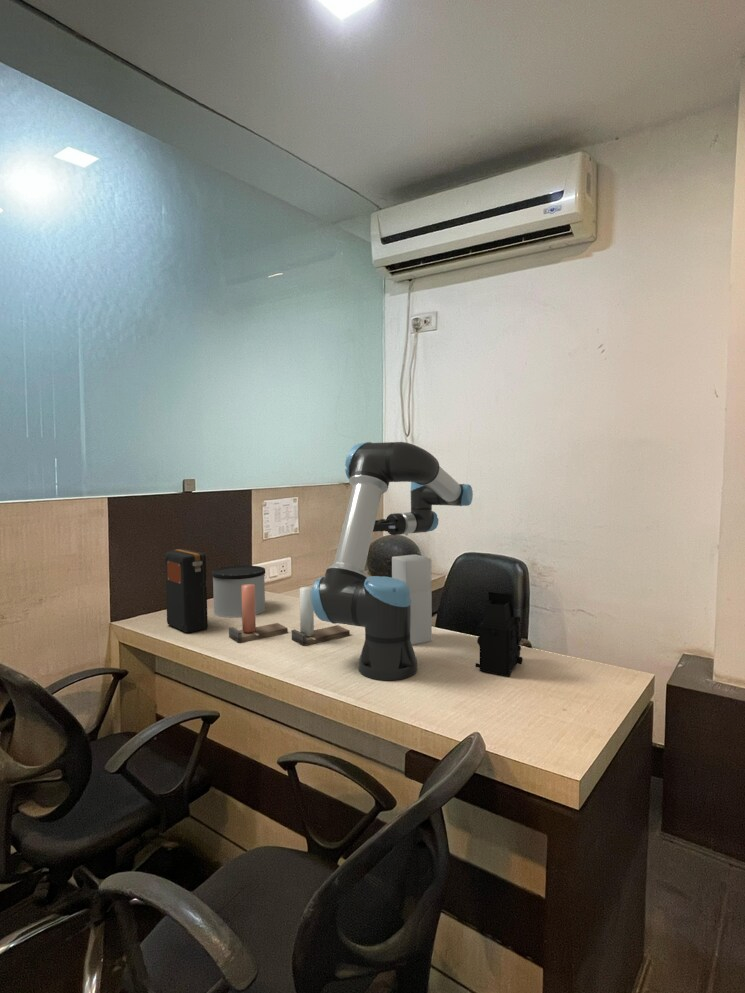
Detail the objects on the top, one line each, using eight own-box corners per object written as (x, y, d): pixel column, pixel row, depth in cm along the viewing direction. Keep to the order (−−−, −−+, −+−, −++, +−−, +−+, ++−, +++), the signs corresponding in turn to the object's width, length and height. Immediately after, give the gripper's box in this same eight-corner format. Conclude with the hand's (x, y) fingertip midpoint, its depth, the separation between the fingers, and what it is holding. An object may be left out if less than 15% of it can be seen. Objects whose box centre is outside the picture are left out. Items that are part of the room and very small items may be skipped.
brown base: (276, 626, 180) (276, 617, 180) (289, 633, 173) (288, 624, 173) (227, 636, 171) (227, 626, 171) (239, 643, 164) (239, 633, 163)
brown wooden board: (335, 629, 177) (335, 619, 177) (351, 636, 170) (351, 626, 170) (290, 639, 168) (289, 629, 167) (304, 646, 160) (304, 636, 160)
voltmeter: (211, 629, 178) (209, 552, 177) (186, 635, 172) (183, 556, 171) (188, 619, 189) (186, 547, 188) (163, 625, 183) (161, 550, 182)
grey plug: (309, 631, 169) (309, 586, 168) (316, 634, 166) (315, 588, 165) (298, 633, 166) (297, 587, 166) (304, 636, 163) (303, 590, 162)
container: (231, 621, 188) (230, 577, 187) (202, 611, 201) (201, 570, 200) (276, 610, 201) (275, 569, 200) (247, 601, 214) (246, 563, 213)
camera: (527, 662, 147) (528, 587, 146) (512, 679, 135) (513, 598, 134) (491, 655, 152) (491, 583, 151) (473, 671, 140) (474, 593, 139)
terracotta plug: (252, 627, 173) (251, 583, 172) (257, 630, 170) (256, 585, 169) (240, 630, 170) (239, 585, 170) (245, 633, 167) (244, 587, 166)
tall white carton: (391, 637, 168) (391, 556, 167) (416, 633, 172) (416, 554, 171) (406, 646, 160) (406, 561, 159) (432, 641, 164) (431, 558, 163)
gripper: (412, 536, 188) (355, 542, 174) (388, 532, 198) (333, 538, 184) (412, 514, 187) (354, 519, 173) (388, 511, 198) (332, 516, 184)
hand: (343, 528), depth 179 cm, fingers closed
